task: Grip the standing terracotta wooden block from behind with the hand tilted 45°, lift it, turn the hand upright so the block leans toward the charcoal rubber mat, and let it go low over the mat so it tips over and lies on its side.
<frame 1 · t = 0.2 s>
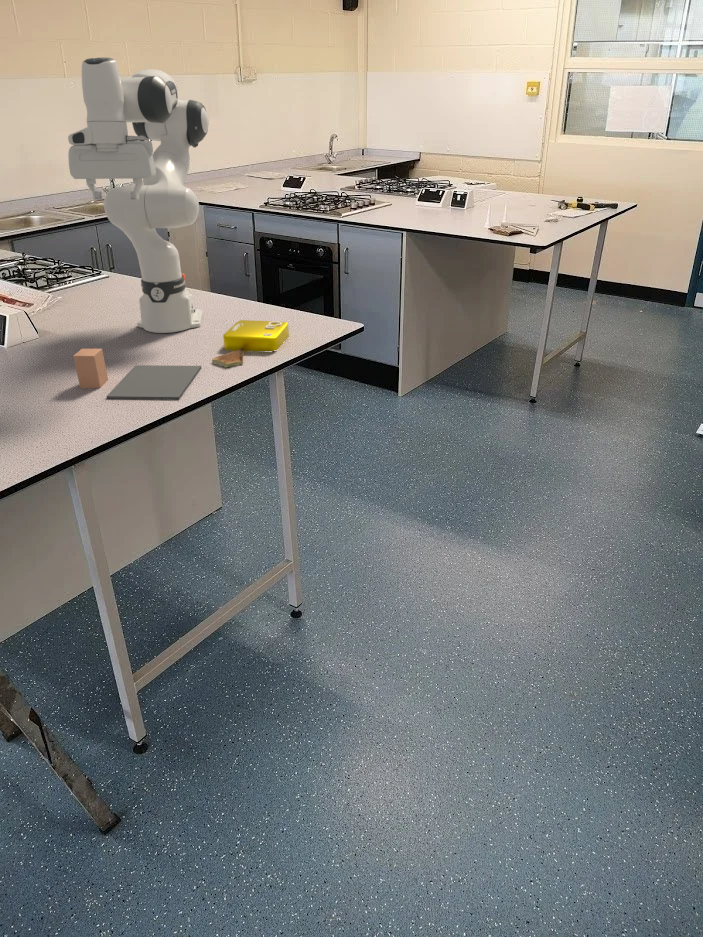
hand: (116, 199, 174), 39 cm above the counter, tool pointing down, fingers open, 8 cm apart
charcoal mat: (156, 382, 174), on the counter
terracotta block: (94, 383, 174), on the counter
element tile: (257, 344, 199), on the counter
shard: (228, 362, 187), on the counter
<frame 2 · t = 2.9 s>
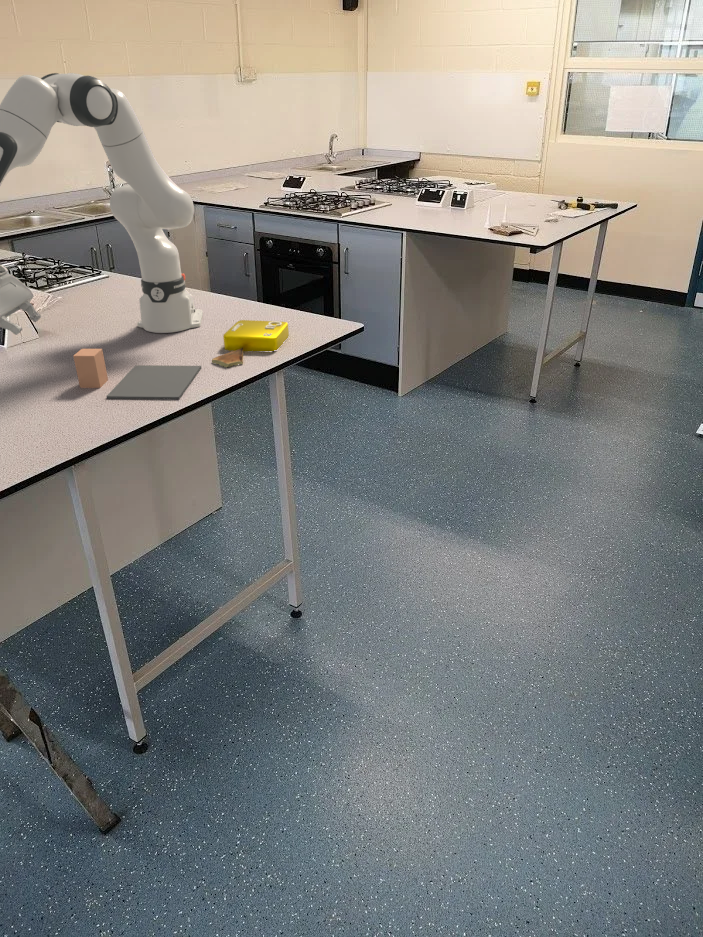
hand: (29, 325, 168), 14 cm above the counter, tool tilted 45°, fingers open, 8 cm apart
nothing on the counter moved.
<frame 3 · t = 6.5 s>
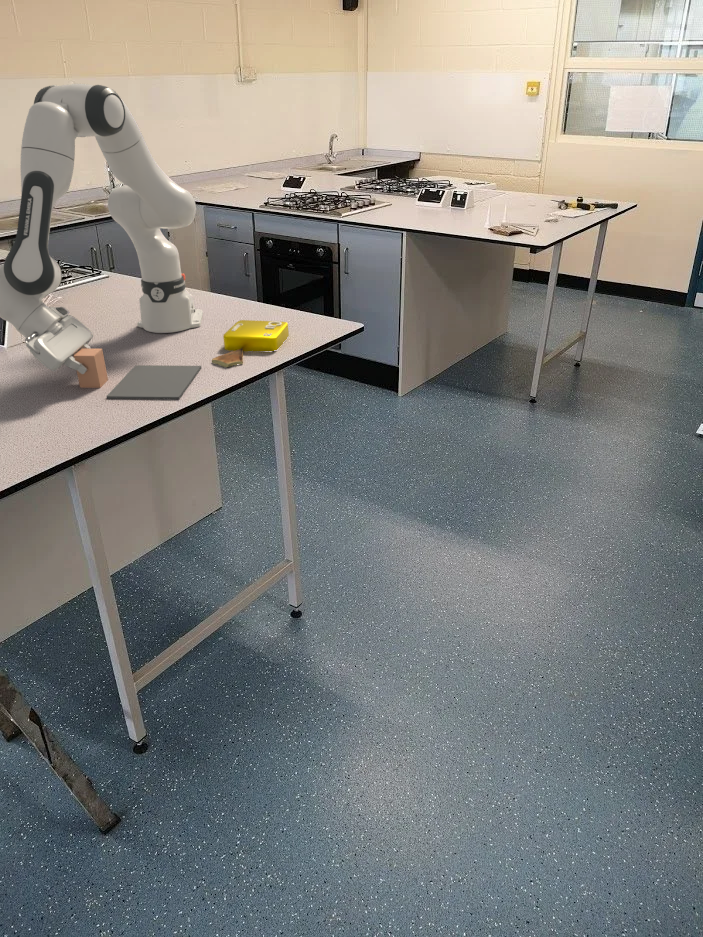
hand: (91, 366, 172), 4 cm above the counter, tool tilted 45°, fingers closed on terracotta block, 5 cm apart
terracotta block: (94, 383, 174), on the counter, touching gripper
everything else where it was.
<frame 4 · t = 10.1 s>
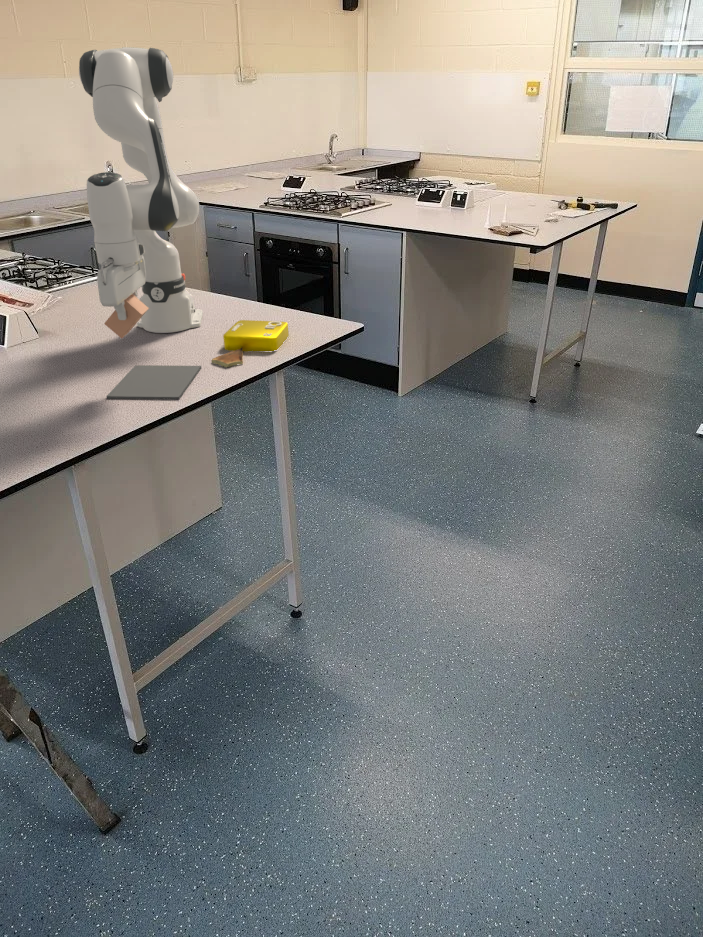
hand: (128, 314, 165), 17 cm above the counter, tool pointing down, fingers closed on terracotta block, 5 cm apart
terracotta block: (116, 327, 167), point 14 cm above the counter, tilted 45°, touching gripper
everything else where it was.
when the fingers open (7 cm above the counter, at t = 12.3 s): terracotta block moves 2 cm and tips over, resting on charcoal mat.
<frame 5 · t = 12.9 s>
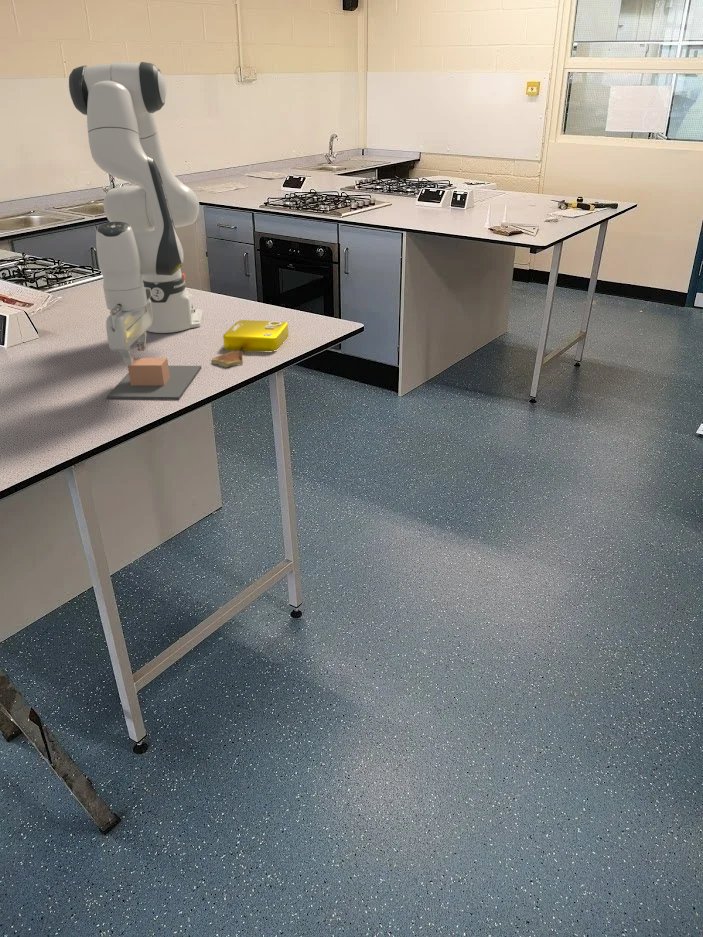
hand: (135, 356, 170), 7 cm above the counter, tool pointing down, fingers open, 8 cm apart
terracotta block: (132, 371, 172), point 3 cm above the counter, tilted 90°, touching charcoal mat
everything else where it was.
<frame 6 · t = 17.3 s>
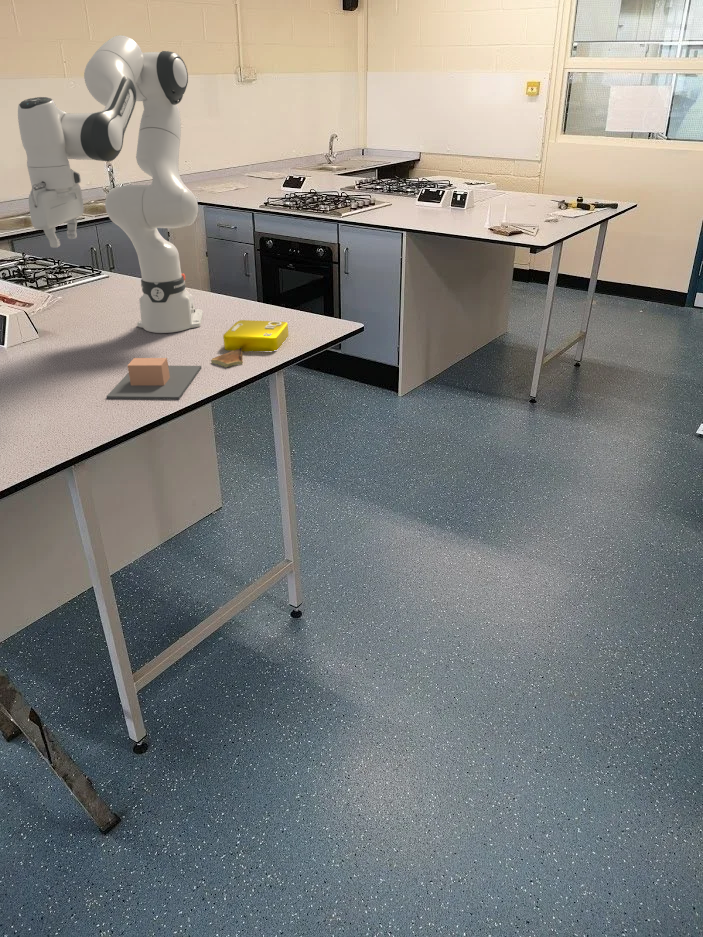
hand: (64, 242, 168), 31 cm above the counter, tool pointing down, fingers open, 8 cm apart
nothing on the counter moved.
at the end: terracotta block tilted 90°; terracotta block inside the target area (4.1 cm from its centre), point 3.1 cm above the counter; the gripper is holding nothing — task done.
